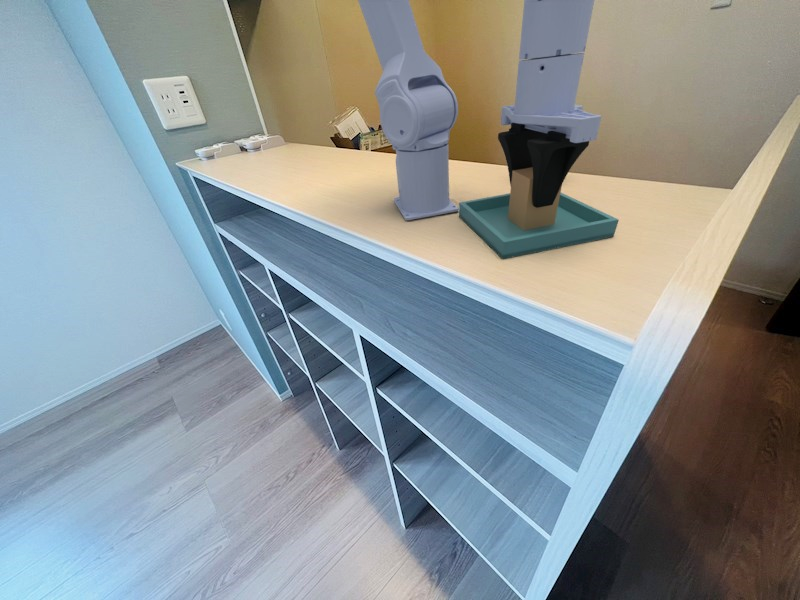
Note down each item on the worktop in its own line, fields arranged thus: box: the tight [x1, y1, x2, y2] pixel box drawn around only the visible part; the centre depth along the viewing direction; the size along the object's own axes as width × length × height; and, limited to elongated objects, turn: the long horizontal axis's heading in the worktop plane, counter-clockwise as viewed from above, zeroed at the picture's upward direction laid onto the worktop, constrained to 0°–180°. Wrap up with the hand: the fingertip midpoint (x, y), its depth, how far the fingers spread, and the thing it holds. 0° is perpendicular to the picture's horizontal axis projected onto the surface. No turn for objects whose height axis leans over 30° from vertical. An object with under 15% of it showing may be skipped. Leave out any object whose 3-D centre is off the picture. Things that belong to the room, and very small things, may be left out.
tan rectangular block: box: [508, 167, 563, 230], centre depth 38 cm, size 4×4×6 cm
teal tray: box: [458, 192, 619, 260], centre depth 40 cm, size 13×13×2 cm
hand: (531, 198), depth 38 cm, fingers open, 4 cm apart
